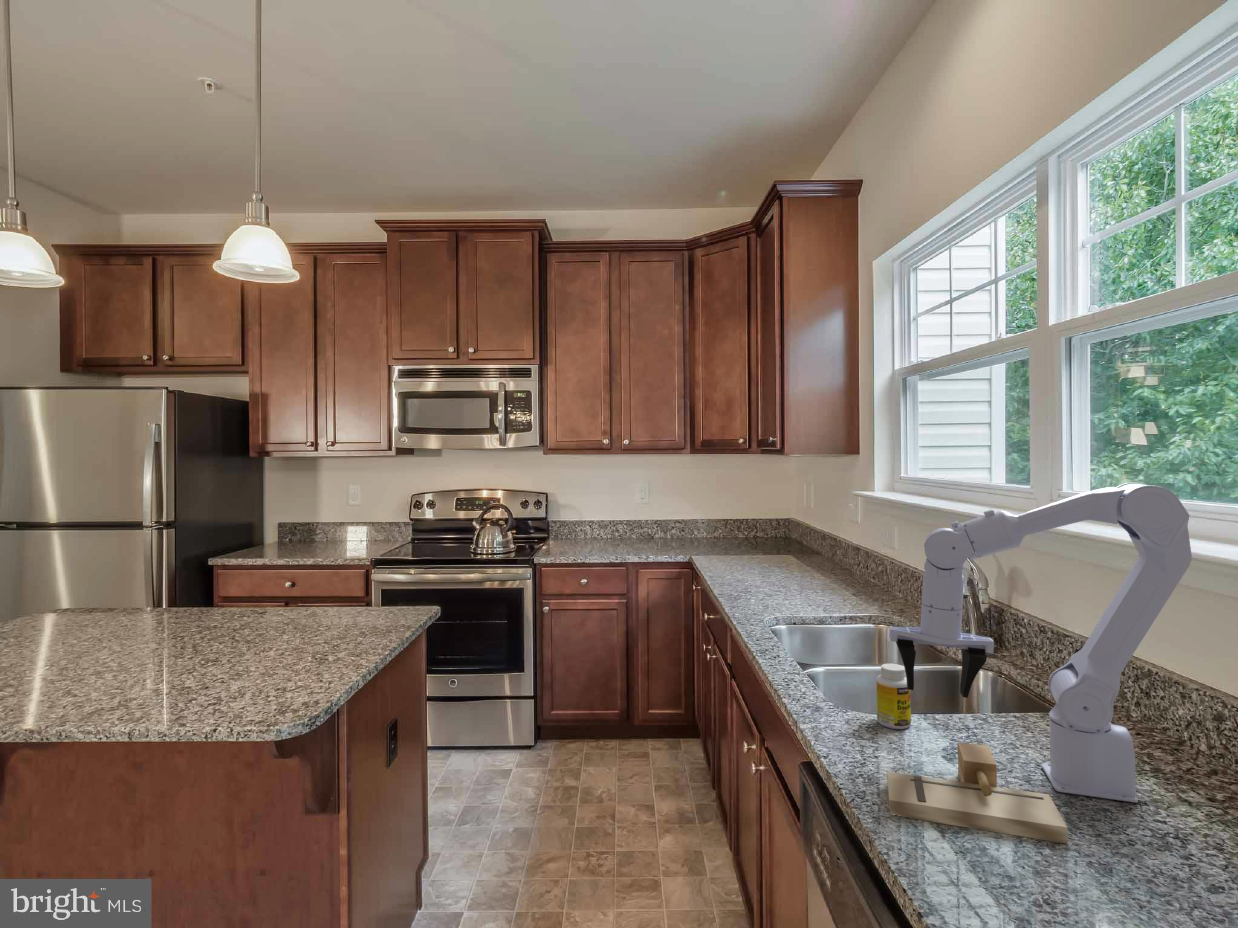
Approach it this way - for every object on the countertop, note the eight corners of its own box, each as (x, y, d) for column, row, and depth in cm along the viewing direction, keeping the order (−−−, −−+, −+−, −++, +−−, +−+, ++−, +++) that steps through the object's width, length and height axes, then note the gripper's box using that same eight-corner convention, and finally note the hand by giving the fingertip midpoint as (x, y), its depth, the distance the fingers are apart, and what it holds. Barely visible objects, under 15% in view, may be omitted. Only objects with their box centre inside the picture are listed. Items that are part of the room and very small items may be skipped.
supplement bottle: (899, 733, 109) (897, 674, 109) (870, 722, 113) (869, 665, 113) (917, 725, 112) (916, 667, 112) (889, 714, 116) (888, 659, 116)
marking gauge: (988, 779, 93) (988, 745, 93) (1005, 820, 83) (1004, 782, 83) (958, 775, 94) (957, 742, 94) (970, 814, 84) (969, 777, 84)
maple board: (1049, 809, 85) (1049, 793, 85) (1067, 843, 77) (1067, 826, 77) (887, 785, 92) (887, 770, 92) (889, 814, 84) (889, 798, 84)
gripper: (987, 604, 100) (982, 688, 101) (888, 594, 105) (884, 675, 105) (999, 616, 94) (994, 706, 94) (893, 604, 98) (888, 691, 98)
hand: (936, 691), depth 99 cm, fingers open, 7 cm apart
